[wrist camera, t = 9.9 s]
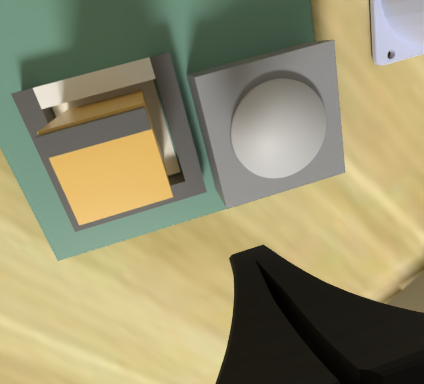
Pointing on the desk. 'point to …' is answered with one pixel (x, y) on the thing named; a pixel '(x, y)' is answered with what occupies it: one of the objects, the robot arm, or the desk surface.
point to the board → (172, 101)
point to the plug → (106, 157)
